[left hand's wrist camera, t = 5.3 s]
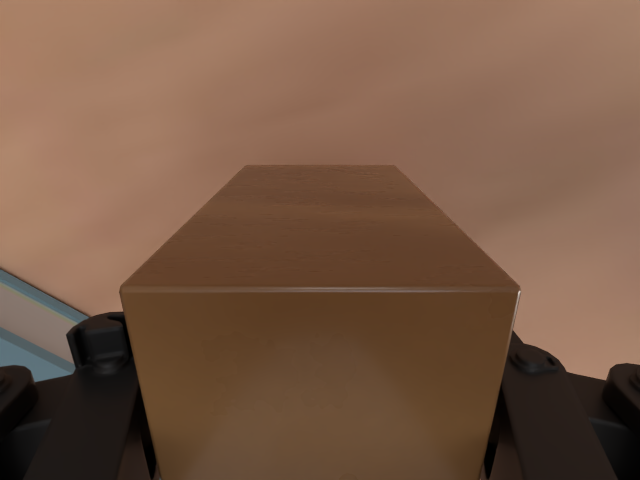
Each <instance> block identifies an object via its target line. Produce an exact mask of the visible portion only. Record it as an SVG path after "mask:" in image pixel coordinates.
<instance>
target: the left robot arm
mask: <svg viewBox="0 0 640 480" xmlns="http://www.w3.org/2000/svg"><path fill="white" fill-rule="evenodd" d="M66 337H67V341H68V344H69V348H70V351H71V354H72V358H73V361H74V365H75V370H74V373H73V374H70V375H67V376H62V377H57V378H52V379H47V380H43V381H38V382H35V381H34V378H33V375H32V372H31V370H29V369H28V368H27V367H25V366H19V365H10V366H2V367H0V480H160V475H159V470H158V466H157V461H156V457H155V452H154V448H153V443H152V439H151V434H150V430H149V425H148V420H147V416H146V411H145V407H144V402H143V398H142V393H141V389H140V384H139V380H138V375H137V370H136V366H135V361H134V357H133V352H132V348H131V343H130V339H129V334H128V330H127V325H126V320H125V316H124V312H109V313H104V314H100V315H96V316H93V317H91V318H88V319H85V320H83V321H82V322H80V323H78V324H77V325H75V326H73V327H72V328H71V329H70V330H69V331H68V333H67V334H66ZM480 480H640V365H636V364H629V363H624V364H616V365H615V366H613V367H612V368H611V369H610V371H609V374H608V376H607V379H606V380H601V379H596V378H591V377H586V376H582V375H577V374H573V373H569V372H566V370H565V368H564V366H563V365H562V364H561V363H560V361H559V360H558V359H557V358H555V357H554V356H553V355H551V354H550V353H548V352H546V351H544V350H542V349H540V348H538V347H535V346H531V345H527V344H524V343H523V342H522V341H521V340H520V338H519V337H518V336H517V335H516V333H515V332H514V331H512V335H511V340H510V344H509V349H508V353H507V358H506V362H505V367H504V372H503V376H502V381H501V385H500V390H499V394H498V399H497V403H496V408H495V412H494V417H493V422H492V426H491V431H490V435H489V440H488V444H487V449H486V453H485V458H484V462H483V467H482V472H481V476H480Z"/></svg>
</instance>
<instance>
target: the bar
mask: <svg viewBox="0 0 640 480" xmlns="http://www.w3.org/2000/svg"><path fill="white" fill-rule="evenodd" d="M119 293H120V298H121V302H122V307H123V311H124V316H125V320H126V325H127V330H128V334H129V339H130V343H131V348H132V352H133V357H134V361H135V366H136V370H137V375H138V380H139V384H140V389H141V393H142V398H143V402H144V407H145V411H146V416H147V420H148V425H149V430H150V434H151V439H152V443H153V448H154V452H155V457H156V461H157V466H158V470H159V475H160V480H480V476H481V472H482V467H483V462H484V458H485V453H486V449H487V444H488V440H489V435H490V431H491V426H492V422H493V417H494V412H495V408H496V403H497V399H498V394H499V390H500V385H501V381H502V376H503V372H504V367H505V362H506V358H507V353H508V349H509V344H510V340H511V335H512V331H513V326H514V322H515V317H516V313H517V308H518V303H519V299H520V294H521V290H520V286H519V285H518V284H517V283H516V282H515V281H514V280H513V279H512V278H511V277H510V276H509V275H508V274H507V273H506V272H505V271H504V270H503V269H502V268H500V267H499V266H498V265H497V264H496V263H495V262H494V261H493V260H492V259H491V258H490V257H489V256H488V255H487V254H486V253H485V252H484V251H483V250H482V249H481V248H480V247H479V246H478V245H477V244H476V243H475V242H474V241H472V240H471V239H470V238H469V237H468V236H467V235H466V234H465V233H464V232H463V231H462V230H461V229H460V228H459V227H458V226H457V225H456V224H455V223H454V222H453V221H452V220H451V219H450V218H449V217H448V216H447V215H446V214H444V213H443V212H442V211H441V210H440V209H439V208H438V207H437V206H436V205H435V204H434V203H433V202H432V201H431V200H430V199H429V198H428V197H427V196H426V195H425V194H424V193H423V192H422V191H421V190H420V189H419V188H418V187H416V186H415V185H414V184H413V183H412V182H411V181H410V180H409V179H408V178H407V177H406V176H405V175H404V174H403V173H402V172H401V171H400V170H399V169H398V168H397V167H396V166H394V165H247V166H245V167H244V168H243V169H241V170H240V171H239V172H238V173H237V174H236V175H235V176H234V177H233V178H232V179H231V180H230V181H229V182H228V183H227V184H226V185H225V186H224V187H223V188H222V189H221V190H220V191H219V192H218V193H217V194H216V195H214V196H213V197H212V198H211V199H210V200H209V201H208V202H207V203H206V204H205V205H204V206H203V207H202V208H201V209H200V210H199V211H198V212H197V213H196V214H195V215H194V216H193V217H192V218H191V219H190V220H189V221H187V222H186V223H185V224H184V225H183V226H182V227H181V228H180V229H179V230H178V231H177V232H176V233H175V234H174V235H173V236H172V237H171V238H170V239H169V240H168V241H167V242H166V243H165V244H164V245H163V246H161V247H160V248H159V249H158V250H157V251H156V252H155V253H154V254H153V255H152V256H151V257H150V258H149V259H148V260H147V261H146V262H145V263H144V264H143V265H142V266H141V267H140V268H139V269H138V270H137V271H136V272H134V273H133V274H132V275H131V276H130V277H129V278H128V279H127V280H126V281H125V282H124V283H123V284H122V285H121V287H120V291H119Z"/></svg>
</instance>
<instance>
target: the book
mask: <svg viewBox="0 0 640 480" xmlns="http://www.w3.org/2000/svg"><path fill="white" fill-rule="evenodd" d="M88 318H89V317H87V316H86V315H84V314H82V313H80V312H78V311H76V310H75V309H73V308H71V307H69V306H67V305H65V304H63V303H62V302H60V301H58V300H56V299H54V298H52V297H50V296H49V295H47V294H45V293H43V292H41V291H39V290H38V289H36V288H34V287H32V286H30V285H28V284H26V283H25V282H23V281H21V280H19V279H17V278H15V277H13V276H12V275H10V274H8V273H6V272H4V271H2V270H1V269H0V367H2V366H10V365H19V366H25V367H27V368H28V369H29V370H31V372H32V375H33V378H34V381H35V382H38V381H43V380H47V379H52V378H57V377H62V376H67V375H70V374H73V373H74V370H75V365H74V361H73V358H72V354H71V351H70V348H69V344H68V341H67V337H66V334H67V333H68V331H69V330H70V329H71V328H72V327H73V326H75V325H77V324H78V323H80V322H82V321H83V320H85V319H88Z"/></svg>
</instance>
